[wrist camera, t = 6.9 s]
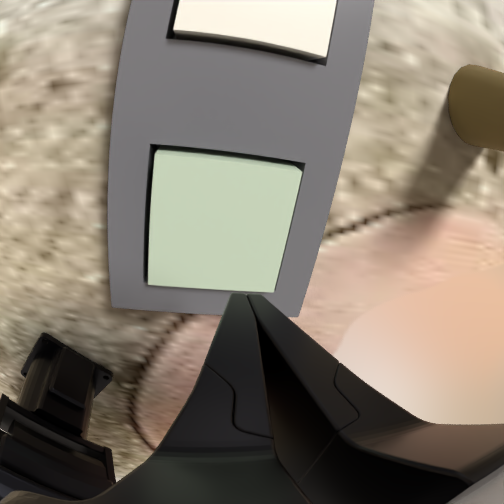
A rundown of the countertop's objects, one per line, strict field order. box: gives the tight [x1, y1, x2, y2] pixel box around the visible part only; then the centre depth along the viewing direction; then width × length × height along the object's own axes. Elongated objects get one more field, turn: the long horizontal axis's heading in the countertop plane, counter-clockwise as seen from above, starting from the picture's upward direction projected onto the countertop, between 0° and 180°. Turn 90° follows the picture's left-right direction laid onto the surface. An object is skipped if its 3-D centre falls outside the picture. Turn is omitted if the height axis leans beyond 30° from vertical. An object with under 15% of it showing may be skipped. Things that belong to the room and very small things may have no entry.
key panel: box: [108, 0, 374, 317], centre depth 13 cm, size 21×10×4 cm, turn 170°
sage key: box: [148, 145, 302, 292], centre depth 15 cm, size 6×6×3 cm
